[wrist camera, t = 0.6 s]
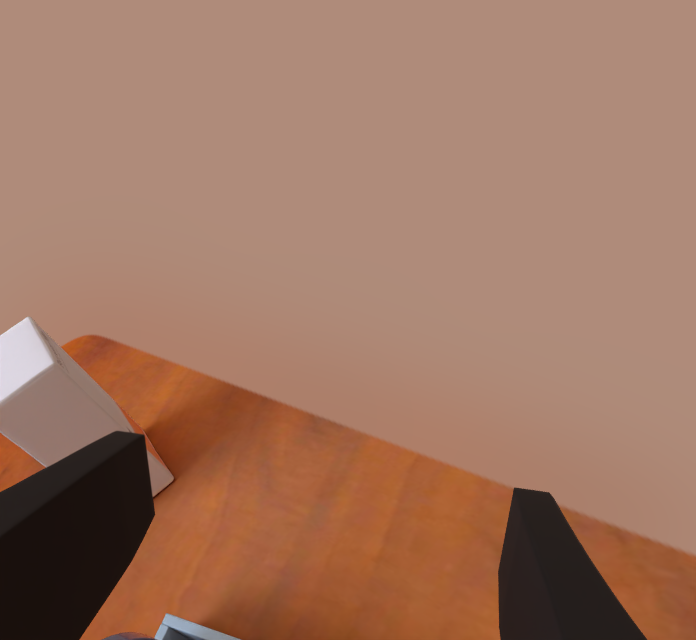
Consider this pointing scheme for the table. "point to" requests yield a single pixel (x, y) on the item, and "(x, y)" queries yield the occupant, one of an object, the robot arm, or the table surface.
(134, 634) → the plate
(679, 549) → the table surface
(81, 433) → the cosmetic box
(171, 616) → the rack
